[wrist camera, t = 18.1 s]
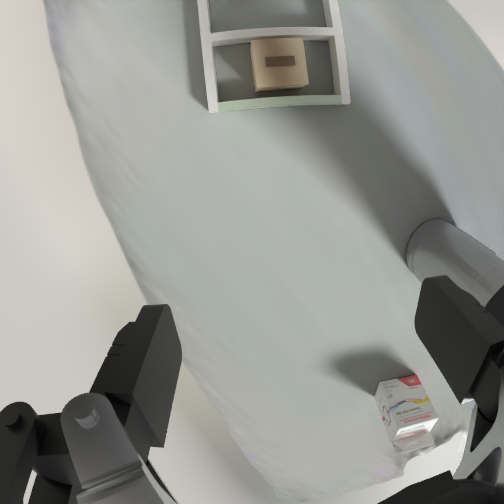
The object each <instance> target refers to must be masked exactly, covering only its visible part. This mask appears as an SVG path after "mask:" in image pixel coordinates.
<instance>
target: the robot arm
mask: <svg viewBox="0 0 504 504" xmlns="http://www.w3.org/2000/svg"><path fill="white" fill-rule="evenodd" d="M406 261H407V265H408V267H409V269H410V271H411V272H412V273H413V274H414V275H415V276H416V277H417V278H418V280H419V281H420V282H421V283H422V286H421V291H420V296H419V301H418V306H417V310H416V315H415V329H416V333H417V335H418V337H419V338H420V340H421V341H422V343H423V344H424V346H425V347H426V349H427V350H428V352H429V354H430V355H431V357H432V358H433V360H434V361H435V363H436V365H437V366H438V368H439V369H440V371H441V373H442V374H443V376H444V378H445V379H446V381H447V383H448V384H449V386H450V388H451V389H452V391H453V393H454V394H455V396H456V398H457V399H458V401H459V403H460V405H461V404H464V403H466V402H469V401H471V400H475V402H476V404H475V406H474V408H473V410H472V416H471V421H470V427H469V432H468V437H467V441H466V446H465V450H464V454H463V458H462V461H461V463H460V465H459V467H458V468H457V470H456V472H455V474H454V476H453V477H452V474H451V472H450V470H449V471H446V472H444V473H441V474H439V475H437V476H434V477H432V478H429V479H426V480H424V481H421V482H418V483H415V484H412V485H410V486H408V487H406V488H404V489H403V490H401V491H399V492H398V493H396V494H394V495H392V496H391V497H389V498H387V499H385V500H383V501H382V502H380V503H378V504H504V261H503V260H502V259H500V258H499V257H498V256H496V254H495V252H493V251H492V250H491V249H489V248H488V247H486V246H485V245H483V244H482V243H481V242H479V241H478V240H476V239H475V238H473V237H472V236H470V235H469V234H467V233H466V232H464V231H463V230H461V229H460V228H458V227H455V226H453V225H452V224H450V223H448V222H447V221H445V220H442V219H433V220H429V221H427V222H425V223H424V224H422V225H421V226H420V227H419V228H418V229H417V230H416V231H415V232H414V234H413V235H412V237H411V239H410V241H409V243H408V246H407V251H406ZM107 355H108V356H107V357H106V358H105V360H104V362H103V364H102V366H101V368H100V370H99V372H98V374H97V377H96V379H95V381H94V383H93V385H92V388H91V390H90V392H89V393H84V394H81V395H78V396H77V397H74V398H73V399H71V400H70V401H69V402H68V403H67V404H66V405H65V407H64V408H63V410H62V412H61V413H54V414H45V415H37V413H36V412H35V411H34V410H33V408H32V407H31V406H30V405H29V404H27V403H25V402H15V403H12V404H10V405H8V406H6V407H5V408H4V409H3V410H2V411H1V412H0V504H23V497H24V493H25V490H26V487H27V484H28V481H29V477H30V474H31V472H32V469H33V470H34V471H35V472H36V473H37V476H36V479H35V483H34V485H33V489H32V492H31V495H30V499H29V503H28V504H179V503H178V502H177V500H176V499H175V497H174V496H173V495H172V493H171V492H170V490H169V489H168V487H167V486H166V485H165V483H164V482H163V480H162V478H161V477H160V475H159V474H158V472H157V471H156V469H155V468H154V466H153V465H152V463H151V461H150V460H149V459H148V455H149V450H150V447H164V443H165V438H166V433H167V428H168V423H169V418H170V413H171V408H172V403H173V399H174V394H175V389H176V384H177V380H178V375H179V370H180V366H181V361H182V350H181V344H180V340H179V337H178V333H177V330H176V326H175V323H174V319H173V316H172V312H171V309H170V307H169V305H168V304H161V305H144V306H143V307H142V309H141V311H140V313H139V315H138V317H137V319H136V321H135V322H129V323H128V324H127V325H125V326H124V327H123V328H122V329H121V330H120V331H119V332H118V334H117V336H116V337H115V339H114V341H113V344H112V347H110V350H109V352H108V354H107Z"/></svg>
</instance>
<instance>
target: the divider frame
mask: <svg viewBox="0 0 504 504" xmlns="http://www.w3.org/2000/svg"><path fill="white" fill-rule="evenodd" d="M322 3H323V9H324V15H325V21H326V27H271V28H255V29H243V30H233V31H224V32H216V33H212V31H211V21H210V11H209V1H208V0H197V4H198V15H199V25H200V35H201V45H202V55H203V64H204V74H205V83H206V91H207V100H208V109H209V113H211V114H213V113H220V112H228V111H237V110H247V109H257V108H269V107H284V106H304V105H347V104H351V101H350V90H349V79H348V70H347V61H346V53H345V46H344V39H343V32H342V25H341V19H340V13H339V7H338V2H337V0H322ZM276 38H303V40H321V41H329V49H330V57H331V65H332V74H333V83H334V94H335V95H304V96H282V97H267V98H255V99H245V100H235V101H227V102H219V95H218V86H217V77H216V68H215V59H214V50H213V47H215V46H223V45H231V44H241V43H251V40H261V39H276Z"/></svg>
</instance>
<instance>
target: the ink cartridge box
mask: <svg viewBox="0 0 504 504" xmlns="http://www.w3.org/2000/svg"><path fill="white" fill-rule="evenodd" d="M375 400H376V403H377V406H378V408H379V411H380V413H381V416H382V419H383V422H384V425H385V427H386V430H387V433H388V436H389V438H390V441H391V442H392V444H393V446H394V449H395V452H396V454H398V455H399V454H403V453H406V452H410V451H414V450H417V449H420V448H423V447H426V446H429V445H432V444H434V440H433V438H432V436H431V434H430V433H429V432H430V430H431V429H432V427H433V426H434V424H435V423H436V421H437V420H438V416H437V414H436V412H435V409H434V407H433V405H432V403H431V401H430V400H429V398H428V396H427V394H426V392H425V390H424V388H423V386H422V384H421V382H420V380H419V378H418V377H417V375H412V376H407V377H402V378H397V379H392V380H387V381H381V382H379V384H378V387H377V391H376V394H375ZM417 441H421V443H419V444H417V445H416V446H407V444H410V443H413V442H417Z"/></svg>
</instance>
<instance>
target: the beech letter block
mask: <svg viewBox="0 0 504 504" xmlns="http://www.w3.org/2000/svg"><path fill="white" fill-rule="evenodd" d="M250 53H251V61H252V69H253V77H254V86H255V92H260V91H271V90H286V89H300V88H302V87H304V86H306V85H308V84H309V82H308V73H307V65H306V57H305V50H304V43H303V38H276V39H261V40H251V48H250Z"/></svg>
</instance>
